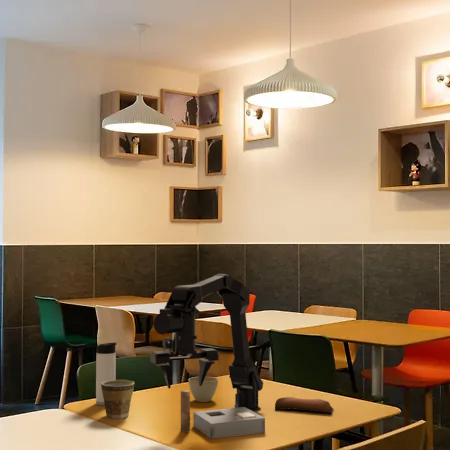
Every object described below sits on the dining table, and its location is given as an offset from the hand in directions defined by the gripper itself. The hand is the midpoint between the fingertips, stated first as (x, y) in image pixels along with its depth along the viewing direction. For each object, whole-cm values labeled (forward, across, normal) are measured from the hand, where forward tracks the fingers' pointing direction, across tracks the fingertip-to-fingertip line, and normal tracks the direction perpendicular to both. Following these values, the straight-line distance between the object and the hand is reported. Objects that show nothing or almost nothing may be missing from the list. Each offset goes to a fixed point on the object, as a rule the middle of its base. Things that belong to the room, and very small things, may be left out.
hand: (184, 387), depth 189 cm
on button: (+10, -16, +6) cm, 20 cm away
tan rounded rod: (+12, 0, 0) cm, 12 cm away
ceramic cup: (+12, +14, -25) cm, 31 cm away
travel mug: (+12, +13, -41) cm, 45 cm away
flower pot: (+12, -18, -33) cm, 40 cm away
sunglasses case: (+13, -44, -9) cm, 46 cm away
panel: (+12, -12, +3) cm, 17 cm away
